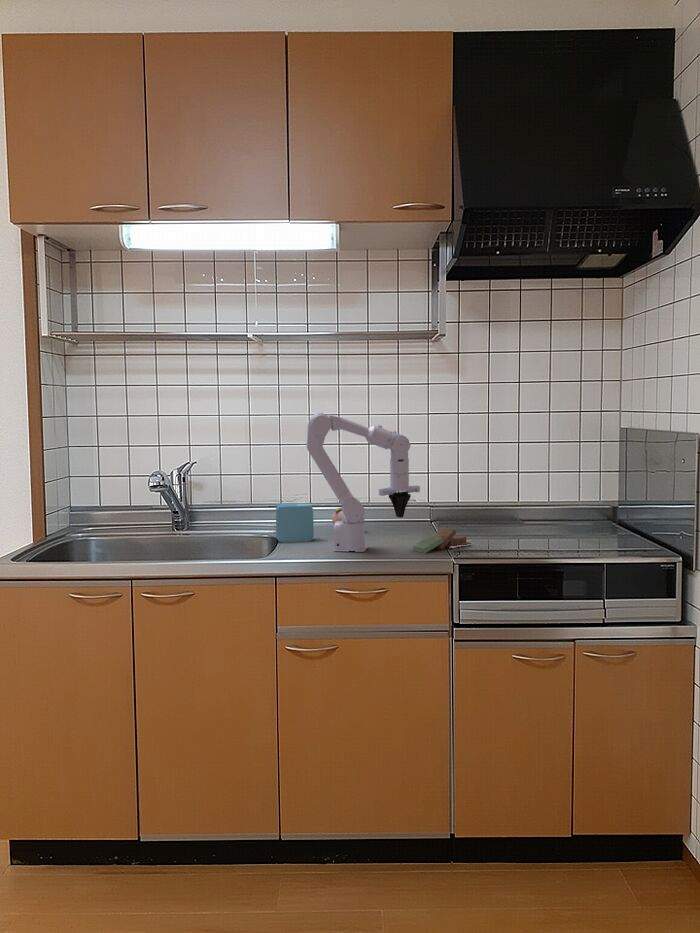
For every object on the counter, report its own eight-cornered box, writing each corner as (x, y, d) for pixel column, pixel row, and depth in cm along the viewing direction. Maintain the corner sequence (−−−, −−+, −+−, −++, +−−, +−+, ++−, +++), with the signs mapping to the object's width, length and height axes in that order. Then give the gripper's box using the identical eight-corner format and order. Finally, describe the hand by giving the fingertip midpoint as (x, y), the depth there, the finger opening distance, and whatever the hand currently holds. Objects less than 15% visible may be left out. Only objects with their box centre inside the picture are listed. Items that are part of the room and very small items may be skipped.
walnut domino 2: (451, 540, 246) (466, 536, 252) (438, 538, 250) (453, 535, 256) (451, 545, 246) (466, 541, 252) (438, 543, 250) (453, 539, 256)
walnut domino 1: (440, 546, 243) (454, 529, 247) (428, 544, 247) (442, 527, 251) (442, 550, 244) (456, 532, 248) (430, 547, 248) (444, 530, 252)
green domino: (424, 548, 239) (442, 537, 244) (412, 546, 243) (430, 535, 247) (425, 553, 239) (443, 542, 244) (413, 550, 243) (431, 539, 248)
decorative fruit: (347, 536, 269) (346, 507, 268) (328, 533, 274) (328, 505, 273) (363, 532, 276) (363, 503, 275) (345, 529, 281) (344, 501, 280)
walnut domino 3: (451, 545, 246) (471, 542, 250) (441, 543, 250) (460, 540, 254) (451, 550, 246) (471, 547, 250) (441, 548, 250) (460, 545, 254)
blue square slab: (312, 538, 265) (311, 503, 264) (313, 541, 261) (313, 505, 260) (276, 540, 264) (275, 504, 262) (277, 542, 259) (276, 506, 258)
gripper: (388, 476, 238) (388, 520, 239) (425, 472, 246) (426, 516, 247) (374, 474, 244) (375, 517, 245) (411, 471, 252) (412, 513, 253)
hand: (399, 516), depth 247 cm, fingers closed
